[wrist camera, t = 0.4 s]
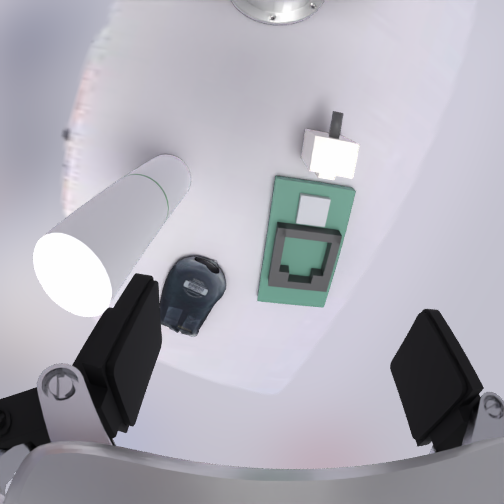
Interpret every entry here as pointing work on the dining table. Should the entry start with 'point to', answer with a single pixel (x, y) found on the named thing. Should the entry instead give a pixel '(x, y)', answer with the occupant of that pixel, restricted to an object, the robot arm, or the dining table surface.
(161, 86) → the dining table surface
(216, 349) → the dining table surface
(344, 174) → the keyed plug
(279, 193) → the circuit board
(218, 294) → the electronic device
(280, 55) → the dining table surface
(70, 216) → the cylindrical container
